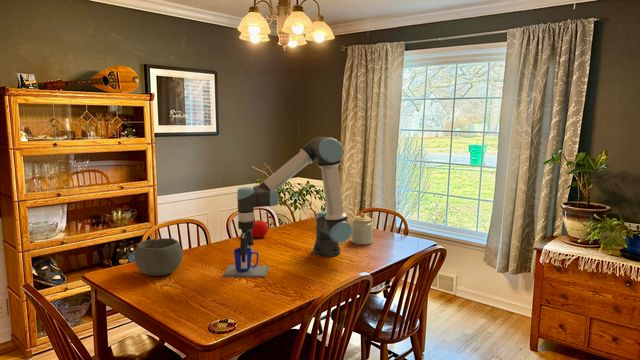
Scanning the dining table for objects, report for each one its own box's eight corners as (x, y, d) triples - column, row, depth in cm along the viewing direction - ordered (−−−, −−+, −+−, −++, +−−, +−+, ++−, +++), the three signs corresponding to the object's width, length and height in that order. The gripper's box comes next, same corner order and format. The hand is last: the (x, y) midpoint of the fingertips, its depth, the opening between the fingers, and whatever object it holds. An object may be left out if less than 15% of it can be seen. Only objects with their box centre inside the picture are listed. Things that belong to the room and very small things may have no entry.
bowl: (137, 284, 190) (135, 252, 188) (133, 269, 209) (132, 239, 206) (186, 277, 200) (185, 245, 198) (178, 263, 218) (177, 234, 216)
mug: (255, 274, 202) (255, 253, 200) (231, 272, 204) (231, 251, 203) (261, 268, 210) (261, 248, 208) (238, 266, 212) (237, 246, 211)
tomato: (266, 239, 262) (266, 222, 261) (246, 239, 262) (246, 222, 261) (269, 234, 273) (269, 218, 272) (250, 234, 274) (249, 217, 272)
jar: (376, 241, 261) (377, 212, 258) (366, 246, 250) (367, 216, 248) (357, 237, 268) (358, 210, 265) (347, 242, 257) (347, 213, 255)
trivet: (269, 267, 214) (269, 265, 214) (265, 277, 200) (265, 275, 200) (229, 266, 215) (229, 264, 214) (222, 276, 201) (222, 274, 201)
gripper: (243, 214, 216) (244, 254, 219) (232, 226, 191) (233, 272, 195) (258, 214, 216) (259, 254, 219) (248, 227, 191) (249, 272, 194)
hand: (247, 263), depth 207 cm, fingers open, 13 cm apart
